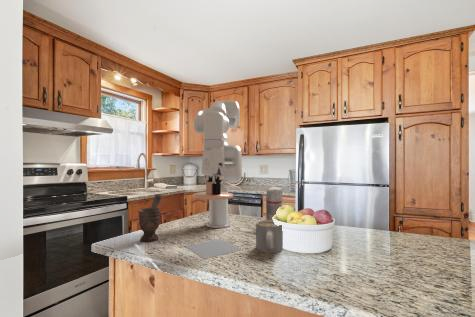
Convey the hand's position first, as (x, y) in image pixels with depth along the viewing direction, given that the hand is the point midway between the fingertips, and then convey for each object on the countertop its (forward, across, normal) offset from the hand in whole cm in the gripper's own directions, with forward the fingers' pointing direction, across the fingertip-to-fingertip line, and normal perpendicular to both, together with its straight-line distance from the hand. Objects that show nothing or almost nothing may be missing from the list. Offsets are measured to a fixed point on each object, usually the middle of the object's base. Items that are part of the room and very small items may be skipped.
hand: (213, 193), depth 98 cm
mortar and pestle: (+21, -22, -16) cm, 34 cm away
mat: (+21, 0, 0) cm, 21 cm away
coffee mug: (+21, +13, +16) cm, 30 cm away
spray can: (+21, -12, +42) cm, 49 cm away
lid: (+1, 0, 0) cm, 1 cm away
